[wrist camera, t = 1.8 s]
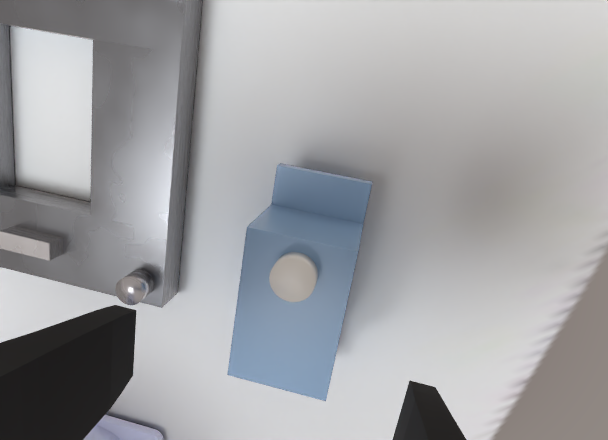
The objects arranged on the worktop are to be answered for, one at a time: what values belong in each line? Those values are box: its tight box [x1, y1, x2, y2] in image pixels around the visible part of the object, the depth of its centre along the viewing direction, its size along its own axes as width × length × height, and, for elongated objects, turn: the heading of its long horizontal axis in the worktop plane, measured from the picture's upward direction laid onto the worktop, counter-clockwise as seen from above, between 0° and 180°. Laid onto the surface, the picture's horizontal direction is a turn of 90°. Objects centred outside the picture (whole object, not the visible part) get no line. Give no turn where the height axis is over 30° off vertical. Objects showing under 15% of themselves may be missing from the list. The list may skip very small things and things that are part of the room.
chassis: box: [0, 0, 202, 308], centre depth 18 cm, size 14×12×2 cm
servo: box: [228, 163, 372, 401], centre depth 16 cm, size 8×4×6 cm, turn 171°
